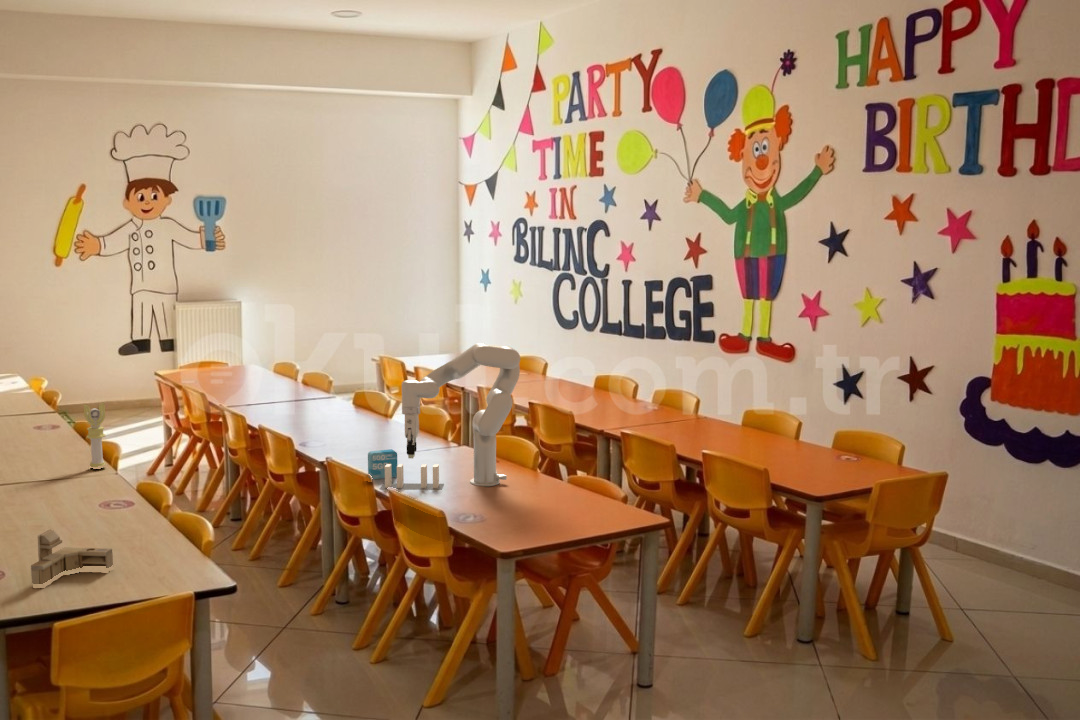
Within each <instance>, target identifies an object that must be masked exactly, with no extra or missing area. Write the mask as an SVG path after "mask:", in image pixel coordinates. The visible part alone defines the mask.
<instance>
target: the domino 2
mask: <svg viewBox="0 0 1080 720" xmlns="http://www.w3.org/2000/svg"><path fill="white" fill-rule="evenodd" d="M404 482H405V481H404V463H403V464H402V463H397V477H396V483H397V488H402V487H403V485H404Z"/></svg>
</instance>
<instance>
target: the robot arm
mask: <svg viewBox="0 0 1080 720" xmlns="http://www.w3.org/2000/svg"><path fill="white" fill-rule="evenodd" d="M520 363H521V356H520V353H519V351H517V350H515V349H514V348H512V347H510V346H507V345H504V346H503V345H502V346H501V347H498V346H491V345H488V344H485V343H483V342H477V343H475V344H473V345H472V346H470V347H469V348H467V349H465V351H463V352H462V353H459V355H457V356H456V357H455V358H453V359H451V360H449V361H448V362H446V363H445V364H443V365H441V366H438V367H437V368H436V369H434V370H432V371H431V372H430V373H428V374H426V375H425V376H424V377H423V378H421V380H420V381H419V380H416V379H407V380H403V381H402V382H401V414H402V415H404V437H405V439H406V454H407V456H408V455H414V454H415V455H416V452H417V438H418V437H419V435H420V419H419V415H420V414H421V399H434V398H436V397H438V395H439V394H440V388H441V387H443V386H444V385H445V384H447V383H449V382H452V381H455V380H459V379H462V378H464V377H465V376H468V374H470V373H472V371H474V370H475V369H477V368H478V367H480V366H484V367H489V368H490V367H491V368H497V369H499V373H498V374H497V377H496V379H495V381H494V383H493V385H492V387H491V388H490V390H489V392H488V394H487V396H486V397H485V401H486V404H487V405H486V408H485V409H480V410H478V411H477V412H475V414H474V415H473V418H472V434H473V478H471V479H470V480H469V483H470V484H471V485H473V486H478V487H494V486H498V485H499V484H500V482H501V481H507V479H508V477H507V474H499V473H498V471H497V435H496V434H498V433H499V431H500V430H501V428H502V426H504V425H503V424H504V423H505V422H506V419H507V417H508V416H509V414H510V412H511V411H512V407H513V398H512V393H513V391H514V389H515V387H516V385H517V383H518V380H519V377H520V372H521V370H520V369H521V367H520ZM411 436H413V438H411ZM414 437H415V445H414ZM411 439H412V440H411ZM500 480H501V481H500Z"/></svg>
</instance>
